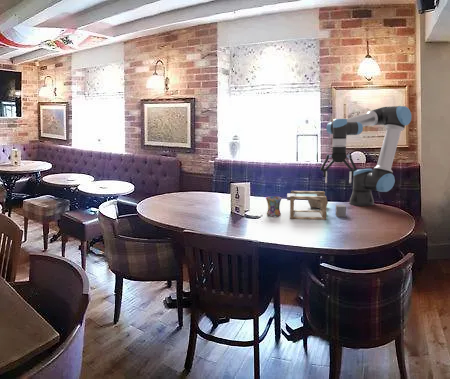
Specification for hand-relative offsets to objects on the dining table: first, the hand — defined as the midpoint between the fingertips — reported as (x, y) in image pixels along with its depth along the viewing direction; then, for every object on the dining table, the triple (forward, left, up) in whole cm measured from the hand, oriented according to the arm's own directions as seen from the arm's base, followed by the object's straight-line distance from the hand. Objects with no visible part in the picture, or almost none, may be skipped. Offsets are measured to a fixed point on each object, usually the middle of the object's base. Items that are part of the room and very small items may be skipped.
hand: (338, 182), depth 233 cm
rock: (+11, -20, -19) cm, 30 cm away
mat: (+17, +3, -19) cm, 26 cm away
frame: (+17, +3, -19) cm, 26 cm away
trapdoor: (+20, +3, -9) cm, 23 cm away
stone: (-2, +1, -19) cm, 19 cm away
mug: (+37, +3, -19) cm, 42 cm away
